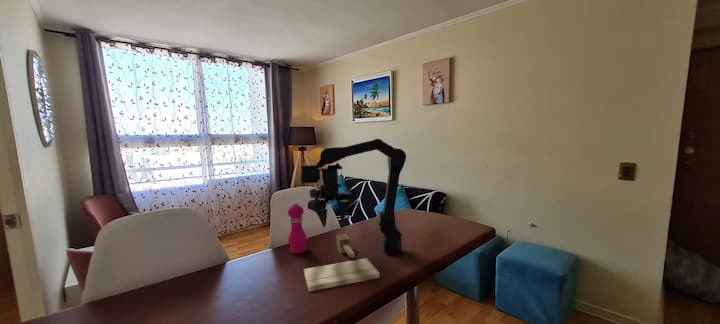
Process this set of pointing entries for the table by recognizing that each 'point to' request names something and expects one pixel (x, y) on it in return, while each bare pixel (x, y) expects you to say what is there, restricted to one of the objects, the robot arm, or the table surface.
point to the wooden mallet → (344, 245)
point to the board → (339, 274)
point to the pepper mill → (296, 229)
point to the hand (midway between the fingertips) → (333, 223)
